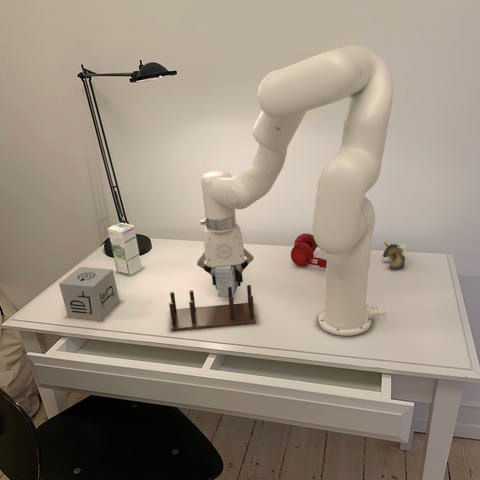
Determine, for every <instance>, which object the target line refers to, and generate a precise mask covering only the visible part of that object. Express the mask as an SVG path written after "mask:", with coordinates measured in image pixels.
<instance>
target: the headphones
mask: <svg viewBox="0 0 480 480" xmlns="http://www.w3.org/2000/svg"><path fill="white" fill-rule="evenodd" d="M317 248H319V247H318V245H317V244H316V242H315V240H314V236H313V234H311V233H305V232H304V233H302V234H301V233H300V234H299V235H297V237H296V239H295V240H294V245H293V247H292V249H291V251H290V258H291V261H292V263H293V264H294V265H296V266H298V267H307V266H309V265H310V266H315V267H318V268H321V269H326V265H327V259H325V258H321V257H316V256H314V255H315V254H314V252H315V251H316V250H317Z"/></svg>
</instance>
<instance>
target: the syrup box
mask: <svg viewBox="0 0 480 480" xmlns="http://www.w3.org/2000/svg"><path fill="white" fill-rule="evenodd" d="M107 232H108V236H109V241H110V245H111V250H112V255H113V260H114V264H115V268H116V272H117V273H120V274H124V275H128V276H132V275H133V274H136V273H137V272H138V271H140V270H142V269H143V265H142V260H141V255H140V249H139V245H138V239H137V234H136V229H135V225H134V224H130V223H124V222H117V223H115V224H113V225H112V226H110V227H108V228H107Z"/></svg>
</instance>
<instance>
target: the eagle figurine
mask: <svg viewBox="0 0 480 480" xmlns="http://www.w3.org/2000/svg"><path fill="white" fill-rule="evenodd" d="M384 245H385V247H386V248H385V249H384V251H383V254H382V257H383V259H384V258H386V259H385V263H387V262H389V261H391V263H390V264H389V266H388V269H390V270H391V271H398V270H401V269H403V267H404V266H405V262H406V258H405V255H404V254H405V253H407V249H408V247H407V245H406V243H404V242H401V243H399V244H397V243H395V244H394V243H391V244H387V242H386V241H384Z"/></svg>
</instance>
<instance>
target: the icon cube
mask: <svg viewBox="0 0 480 480" xmlns="http://www.w3.org/2000/svg"><path fill="white" fill-rule="evenodd" d="M116 283H117V282H116V277H115V274H114V270H113V268H102V267H101V268H99V267H88V266H87V267H86V266H79V267H78V268H76V269H75V270H74V271H72V273H70V274H69V275H67V276H66V277H65V278H64V279H63V280H61V281H60V282H59V283H58V286H59V289H60V293H61V296H62V300H63V303H64V307H65V311H66V314H67V318H74V319H81V320H82V319H83V320H90V321H99V322H101V321H103V320H104V319H105V318H106V317H107V316H108V315H109V314H110V312H112V311H113V310H114V309H115V308H116V306H118V304H120V297H119V292H118V287H117V284H116Z"/></svg>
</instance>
